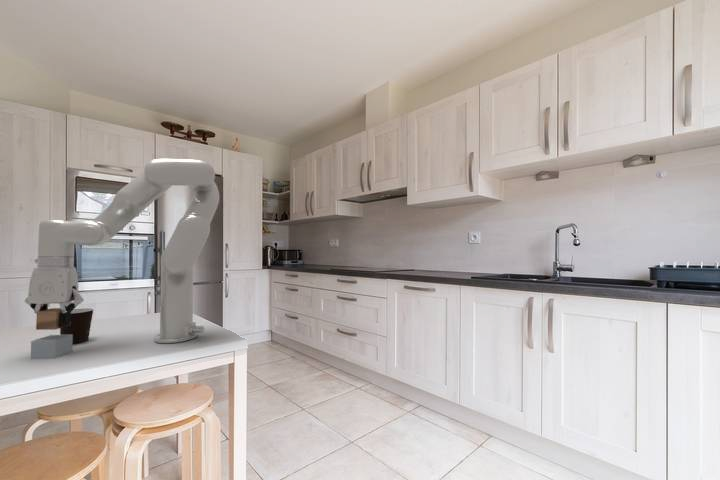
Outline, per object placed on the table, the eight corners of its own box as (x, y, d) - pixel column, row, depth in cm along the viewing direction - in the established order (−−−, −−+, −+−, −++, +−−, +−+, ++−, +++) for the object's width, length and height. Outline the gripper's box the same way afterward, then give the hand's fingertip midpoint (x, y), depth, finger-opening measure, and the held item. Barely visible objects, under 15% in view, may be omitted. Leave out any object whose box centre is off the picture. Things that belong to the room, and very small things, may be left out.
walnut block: (55, 329, 87) (56, 311, 87) (36, 329, 86) (36, 311, 87) (70, 325, 92) (71, 308, 92) (52, 325, 91) (52, 308, 91)
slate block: (72, 351, 92) (72, 334, 92) (54, 358, 86) (55, 340, 86) (49, 352, 91) (50, 335, 91) (30, 359, 85) (31, 341, 86)
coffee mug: (85, 344, 98) (86, 312, 98) (50, 347, 95) (51, 314, 95) (100, 334, 109) (101, 305, 109) (69, 337, 106) (70, 307, 106)
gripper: (10, 263, 85) (7, 330, 85) (77, 263, 87) (75, 329, 86) (36, 262, 92) (33, 323, 92) (97, 262, 94) (95, 323, 94)
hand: (53, 325), depth 89 cm, fingers closed on walnut block, 5 cm apart
